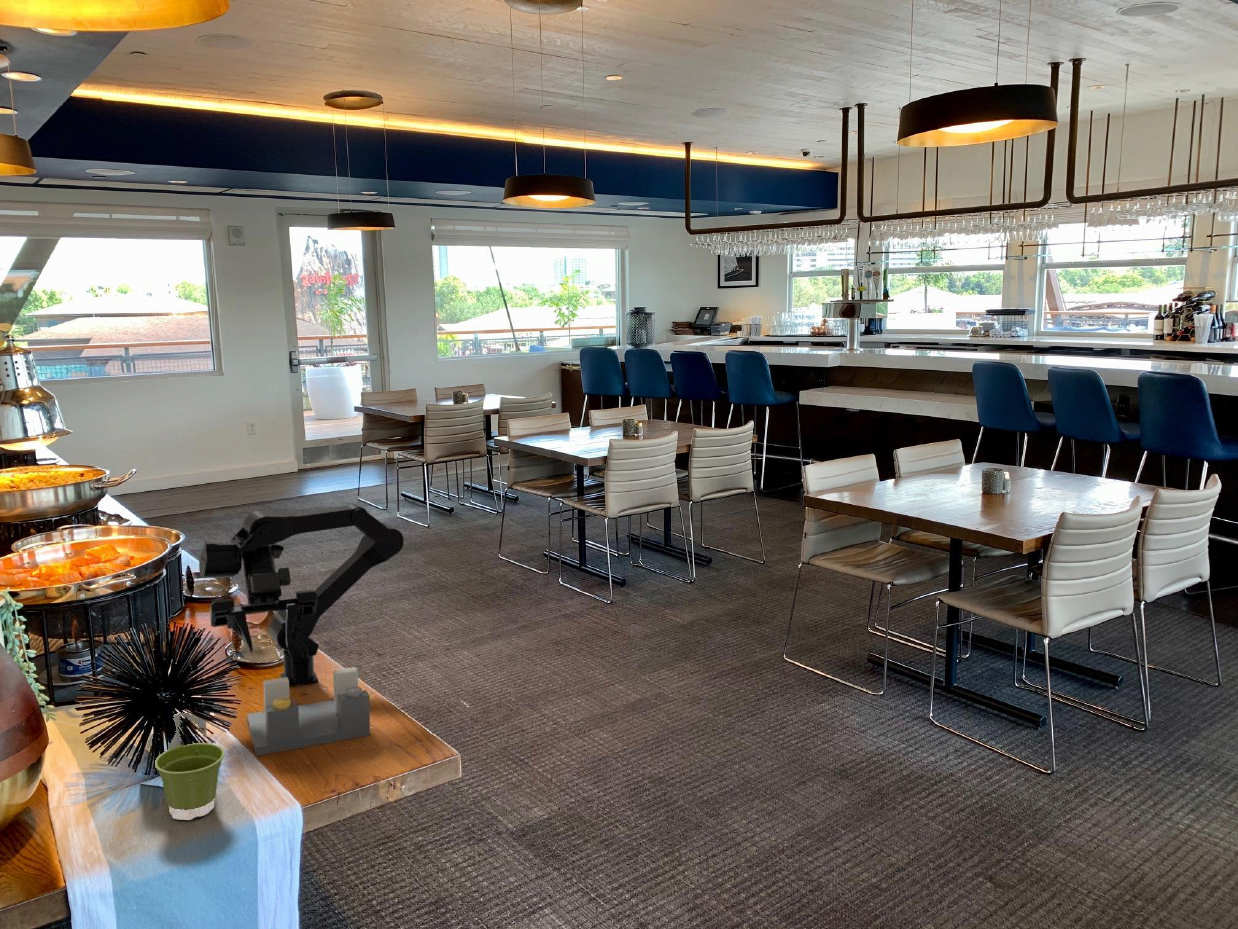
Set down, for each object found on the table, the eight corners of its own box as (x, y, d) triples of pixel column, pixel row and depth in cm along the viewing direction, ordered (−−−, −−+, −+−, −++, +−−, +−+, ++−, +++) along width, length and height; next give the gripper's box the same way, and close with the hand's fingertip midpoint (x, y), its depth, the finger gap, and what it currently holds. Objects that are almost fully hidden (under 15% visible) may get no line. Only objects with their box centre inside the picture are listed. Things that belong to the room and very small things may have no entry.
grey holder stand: (247, 722, 167) (245, 677, 165) (353, 704, 175) (352, 662, 174) (256, 756, 154) (254, 708, 153) (370, 735, 163) (369, 690, 162)
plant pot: (180, 792, 142) (177, 740, 141) (238, 797, 141) (236, 745, 140) (143, 825, 133) (140, 770, 132) (205, 831, 132) (202, 775, 131)
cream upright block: (334, 709, 169) (333, 670, 167) (356, 705, 170) (355, 667, 169) (336, 713, 167) (335, 674, 166) (358, 710, 169) (357, 671, 167)
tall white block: (264, 721, 163) (263, 680, 162) (288, 717, 165) (287, 677, 164) (266, 725, 161) (264, 685, 160) (290, 721, 163) (288, 681, 162)
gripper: (208, 558, 166) (216, 636, 158) (315, 549, 174) (327, 622, 167) (207, 588, 174) (214, 663, 166) (309, 577, 183) (320, 648, 175)
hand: (270, 649), depth 168 cm, fingers open, 6 cm apart
